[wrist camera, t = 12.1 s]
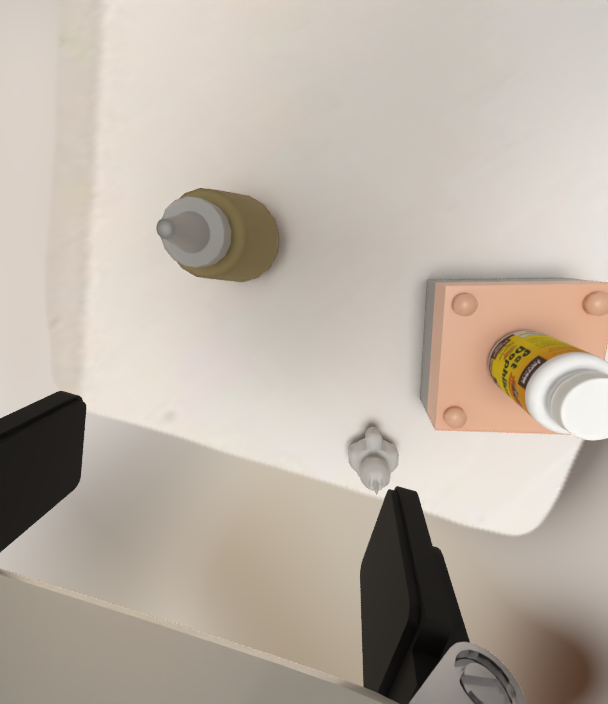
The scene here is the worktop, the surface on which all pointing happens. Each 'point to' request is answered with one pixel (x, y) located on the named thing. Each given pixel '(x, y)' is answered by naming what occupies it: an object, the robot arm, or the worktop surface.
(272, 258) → the squeeze bottle
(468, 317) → the pink and grey block
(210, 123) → the worktop surface
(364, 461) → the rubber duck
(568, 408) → the supplement bottle
